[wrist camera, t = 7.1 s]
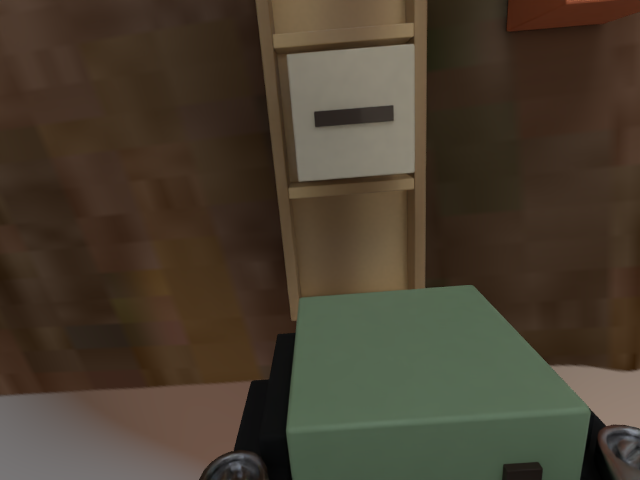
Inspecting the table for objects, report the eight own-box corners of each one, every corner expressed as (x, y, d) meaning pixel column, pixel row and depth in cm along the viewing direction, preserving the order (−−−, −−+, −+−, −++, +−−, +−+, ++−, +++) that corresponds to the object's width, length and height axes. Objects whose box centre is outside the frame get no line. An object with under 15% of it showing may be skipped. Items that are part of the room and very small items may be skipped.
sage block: (313, 435, 12) (310, 639, 8) (298, 296, 11) (284, 437, 6) (466, 425, 12) (565, 624, 7) (473, 283, 11) (600, 416, 6)
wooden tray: (293, 302, 24) (291, 321, 22) (246, -127, 18) (237, -162, 15) (415, 294, 24) (425, 311, 22) (414, -142, 17) (428, -179, 15)
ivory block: (302, 167, 21) (298, 182, 16) (293, 69, 20) (285, 53, 15) (392, 160, 21) (416, 173, 16) (391, 61, 20) (416, 42, 15)
